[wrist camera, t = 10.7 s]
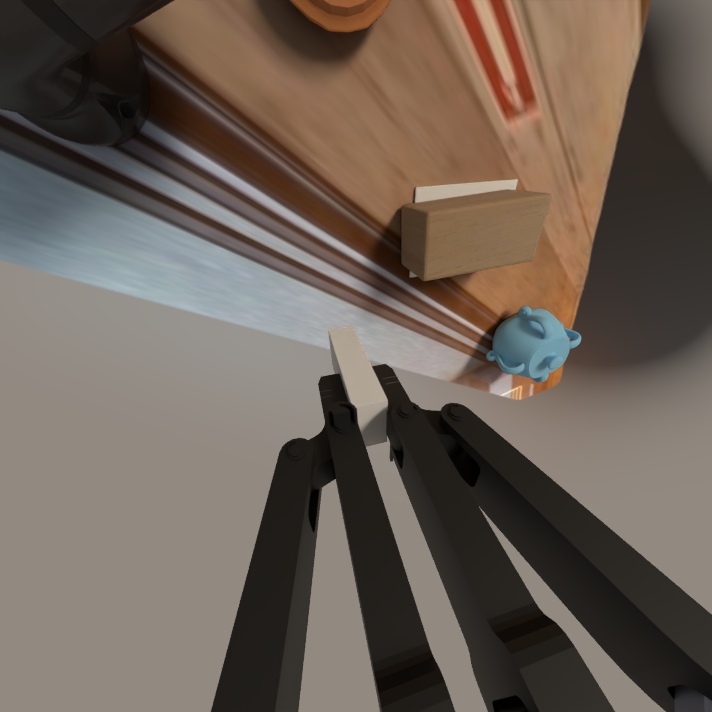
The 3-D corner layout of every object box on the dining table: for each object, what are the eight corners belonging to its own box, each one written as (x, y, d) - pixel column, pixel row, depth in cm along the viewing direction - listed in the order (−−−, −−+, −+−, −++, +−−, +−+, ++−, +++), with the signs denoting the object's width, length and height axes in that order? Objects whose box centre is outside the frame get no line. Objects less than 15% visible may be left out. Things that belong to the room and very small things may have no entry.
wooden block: (400, 264, 51) (495, 247, 53) (423, 282, 43) (533, 261, 45) (400, 204, 45) (507, 188, 47) (427, 212, 37) (554, 192, 39)
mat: (415, 187, 44) (416, 187, 44) (516, 179, 47) (517, 179, 47) (409, 276, 53) (410, 277, 53) (494, 265, 56) (496, 265, 56)
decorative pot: (553, 318, 69) (604, 346, 58) (508, 365, 75) (547, 398, 65) (517, 292, 62) (569, 319, 51) (471, 347, 68) (508, 381, 57)
